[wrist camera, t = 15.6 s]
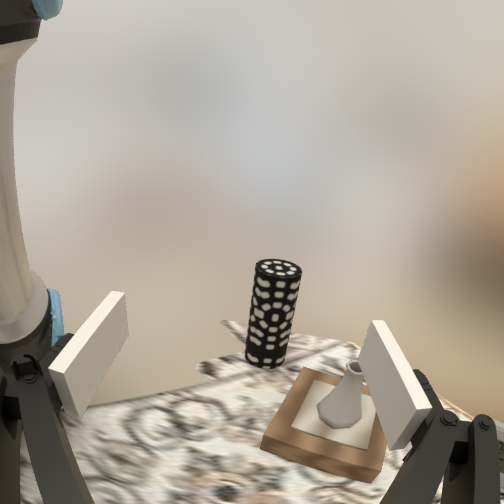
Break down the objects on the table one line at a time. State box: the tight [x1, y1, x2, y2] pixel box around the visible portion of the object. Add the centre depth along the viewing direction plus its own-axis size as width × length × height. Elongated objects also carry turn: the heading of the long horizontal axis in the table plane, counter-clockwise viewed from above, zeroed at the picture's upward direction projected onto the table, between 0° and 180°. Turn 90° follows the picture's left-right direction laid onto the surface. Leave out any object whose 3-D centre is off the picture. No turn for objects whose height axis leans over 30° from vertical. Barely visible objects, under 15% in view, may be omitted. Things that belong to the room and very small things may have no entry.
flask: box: [317, 360, 364, 428], centre depth 41 cm, size 7×7×10 cm
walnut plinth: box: [260, 367, 387, 484], centre depth 44 cm, size 18×18×4 cm
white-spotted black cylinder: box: [245, 259, 302, 369], centre depth 59 cm, size 8×8×20 cm
